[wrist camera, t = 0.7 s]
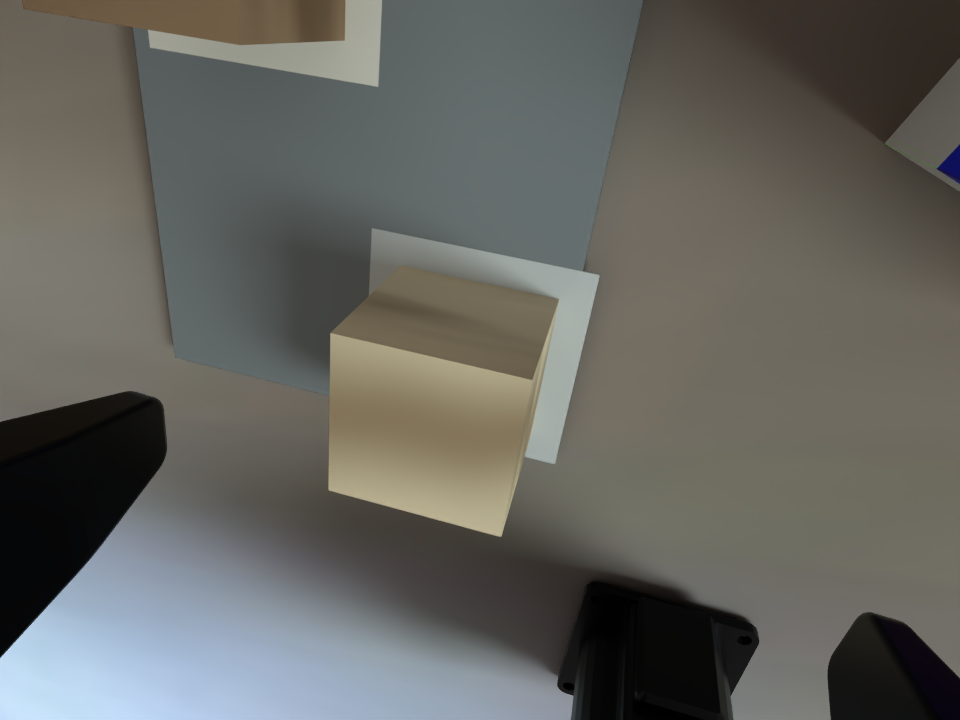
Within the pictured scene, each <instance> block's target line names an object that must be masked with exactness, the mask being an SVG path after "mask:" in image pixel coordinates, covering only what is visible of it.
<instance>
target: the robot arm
mask: <svg viewBox="0 0 960 720" xmlns="http://www.w3.org/2000/svg"><path fill="white" fill-rule="evenodd" d="M166 452H167V439H166V428H165V417H164V408H163V405H162V403H161V402H160V400H158V399H157V398H155V397H151V396H148V395H145V394H141V393H138V392H133V391H127V392H122V393H118V394H114V395H110V396H106V397H101V398H97V399H93V400H89V401H85V402H81V403H77V404H73V405H68V406H64V407H60V408H56V409H52V410H48V411H44V412H39V413H35V414H31V415H27V416H23V417H19V418H15V419H10V420H6V421H2V422H0V658H1V657H2V655H3V654H4V653H5V652H6V651H7V650H8V649H9V648H10V647H11V646H12V645H13V643H14V642H15V641H16V640H17V639H18V638H19V637H20V636H21V635H22V634H23V633H24V631H25V630H26V629H27V628H28V627H29V626H30V625H31V624H32V623H33V622H34V621H35V619H36V618H37V617H38V616H39V615H40V614H41V613H42V612H43V611H44V610H45V609H46V607H47V606H48V605H49V604H50V603H51V602H52V601H53V600H54V599H55V598H56V597H57V595H58V594H59V593H60V592H61V591H62V590H63V589H64V588H65V587H66V586H67V585H68V583H69V582H70V581H71V580H72V579H73V578H74V577H75V576H76V575H77V574H78V572H79V571H80V570H81V569H82V568H83V567H84V566H85V564H86V563H87V562H88V561H89V560H90V559H91V557H92V556H93V555H94V554H95V552H96V551H97V550H98V549H99V548H100V546H101V545H102V544H103V543H104V541H105V540H106V539H107V537H108V536H109V535H110V533H111V532H112V531H113V529H114V528H115V527H116V525H117V524H118V523H119V521H120V520H121V519H122V517H123V516H124V515H125V513H126V512H127V511H128V509H129V508H130V507H131V505H132V504H133V503H134V501H135V500H136V499H137V497H138V496H139V495H140V493H141V492H142V491H143V489H144V488H145V487H146V486H147V484H148V483H149V482H150V480H151V479H152V478H153V476H154V475H155V474H156V472H157V471H158V470H159V468H160V467H161V465H162V463H163V461H164V459H165V456H166ZM595 594H598V595H601V596H596V595H595ZM758 644H759V637H758V631H757V629H756V627H754V626H753V625H752V624H749V623H747V622H743V621H740V620H736V619H732V618H729V617H725V616H721V615H718V614H714V613H711V612H707V611H703V610H700V609H696V608H692V607H689V606H685V605H682V604H678V603H674V602H671V601H667V600H663V599H660V598H656V597H653V596H649V595H645V594H642V593H638V592H634V591H631V590H627V589H624V588H620V587H616V586H613V585H609V584H605V583H602V582H591V583H589V584H587V586H586V587H585V590H584V594H583V597H582V600H581V603H580V607H579V610H578V613H577V616H576V620H575V623H574V626H573V629H572V633H571V636H570V639H569V642H568V646H567V649H566V652H565V655H564V659H563V662H562V665H561V668H560V672H559V675H558V682H557V686H558V688H559V689H560V690H561V691H562V692H564V693H567V694H570V695H573V696H574V697H573V706H572V715H571V720H733V713H732V704H731V694H732V692H733V691H734V689H735V687H736V685H737V683H738V681H739V680H740V678H741V676H742V674H743V672H744V670H745V668H746V667H747V665H748V663H749V661H750V659H751V657H752V655H753V654H754V652H755V650H756V648H757V646H758ZM828 690H829V702H830V715H831V720H960V678H959V677H958V676H957V675H956V674H955V673H954V672H953V671H952V670H951V669H950V668H949V667H948V666H947V665H946V664H945V663H944V662H943V661H942V660H941V659H940V658H939V657H938V656H937V655H936V654H935V653H934V652H933V650H932V649H931V648H930V647H929V646H928V645H927V644H926V643H925V642H924V641H923V640H922V639H921V638H920V637H919V636H918V635H917V634H916V633H915V632H914V631H913V630H912V629H911V628H910V627H909V626H908V625H906V624H905V623H903V622H901V621H898V620H895V619H892V618H889V617H885V616H882V615H879V614H875V613H871V612H867V613H863V614H861V615H860V616H859V617H858V618H857V619H856V620H855V622H854V623H853V625H852V626H851V627H850V629H849V630H848V632H847V633H846V635H845V636H844V638H843V639H842V641H841V642H840V644H839V645H838V647H837V648H836V650H835V651H834V652H833V654H832V656H831V659H830V661H829V665H828Z"/></svg>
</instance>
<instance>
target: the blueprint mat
mask: <svg viewBox="0 0 960 720" xmlns="http://www.w3.org/2000/svg"><path fill="white" fill-rule="evenodd" d="M643 1H644V0H346V1H345V41H325V42H302V43H279V44H256V45H236V44H230V43H224V42H218V41H212V40H206V39H200V38H194V37H188V36H182V35H176V34H170V33H164V32H158V31H152V30H146V29H140V28H135V27H133V34H134V42H135V50H136V57H137V65H138V73H139V81H140V88H141V96H142V104H143V112H144V120H145V127H146V135H147V143H148V151H149V158H150V166H151V174H152V182H153V190H154V197H155V205H156V213H157V221H158V229H159V236H160V244H161V252H162V260H163V267H164V275H165V283H166V291H167V299H168V306H169V314H170V322H171V330H172V338H173V345H174V353H175V358H179V359H183V360H187V361H191V362H195V363H199V364H203V365H207V366H211V367H215V368H219V369H223V370H227V371H231V372H235V373H239V374H243V375H247V376H251V377H255V378H259V379H263V380H267V381H271V382H275V383H279V384H284V385H288V386H292V387H296V388H300V389H304V390H308V391H312V392H316V393H320V394H324V395H328V396H330V333H331V332H332V331H333V330H334V329H335V328H336V327H337V326H338V325H339V324H340V323H341V322H342V321H343V320H344V319H346V318H347V317H348V316H349V315H350V314H351V313H352V312H353V311H354V310H355V309H356V308H357V307H358V306H359V305H360V304H361V303H362V302H363V301H364V300H365V299H366V298H367V297H368V296H370V295H371V294H372V293H373V292H374V291H375V290H376V289H377V288H378V287H379V286H380V285H381V284H382V283H383V282H384V281H385V280H386V279H387V278H388V277H389V276H390V275H391V274H392V273H393V272H395V271H396V270H397V269H398V268H399V267H400V266H405V267H410V268H415V269H419V270H424V271H429V272H433V273H438V274H443V275H448V276H452V277H457V278H462V279H466V280H471V281H476V282H480V283H485V284H490V285H494V286H499V287H504V288H508V289H513V290H518V291H522V292H527V293H532V294H537V295H541V296H546V297H551V298H555V299H559V303H558V307H557V312H556V317H555V322H554V327H553V331H552V336H551V341H550V346H549V351H548V355H547V360H546V365H545V370H544V375H543V379H542V384H541V389H540V394H539V399H538V403H537V408H536V413H535V418H534V423H533V427H532V432H531V436H530V440H529V443H528V446H527V450H526V453H525V457H528V458H532V459H536V460H540V461H544V462H548V463H552V464H555V461H556V457H557V452H558V448H559V444H560V440H561V436H562V432H563V427H564V423H565V419H566V415H567V411H568V406H569V402H570V398H571V394H572V390H573V385H574V381H575V377H576V373H577V369H578V364H579V360H580V356H581V352H582V348H583V343H584V339H585V335H586V331H587V327H588V322H589V318H590V314H591V310H592V306H593V301H594V297H595V293H596V289H597V285H598V280H599V276H600V274H598V273H593V272H588V271H583V269H584V265H585V260H586V256H587V251H588V247H589V243H590V238H591V234H592V229H593V225H594V220H595V216H596V211H597V207H598V202H599V198H600V193H601V189H602V184H603V180H604V175H605V171H606V167H607V162H608V158H609V153H610V149H611V144H612V140H613V135H614V131H615V126H616V122H617V117H618V113H619V108H620V104H621V99H622V95H623V90H624V86H625V82H626V77H627V73H628V68H629V64H630V59H631V55H632V50H633V46H634V41H635V37H636V32H637V28H638V23H639V19H640V14H641V10H642V5H643Z"/></svg>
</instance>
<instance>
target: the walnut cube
mask: <svg viewBox="0 0 960 720" xmlns="http://www.w3.org/2000/svg"><path fill="white" fill-rule="evenodd" d="M345 1H346V0H22V3H23V8H24V9H27V10H33V11H39V12H45V13H51V14H57V15H63V16H69V17H75V18H81V19H87V20H93V21H99V22H105V23H111V24H117V25H123V26H129V27H135V28H140V29H146V30H152V31H158V32H164V33H170V34H176V35H182V36H188V37H194V38H200V39H206V40H212V41H218V42H224V43H230V44H236V45H256V44H279V43H302V42H325V41H345Z"/></svg>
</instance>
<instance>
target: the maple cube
mask: <svg viewBox="0 0 960 720" xmlns="http://www.w3.org/2000/svg"><path fill="white" fill-rule="evenodd" d="M558 303H559V299H555V298H551V297H546V296H541V295H537V294H532V293H527V292H522V291H518V290H513V289H508V288H504V287H499V286H494V285H490V284H485V283H480V282H476V281H471V280H466V279H462V278H457V277H452V276H448V275H443V274H438V273H433V272H429V271H424V270H419V269H415V268H410V267H405V266H400V267H399V268H398V269H397V270H396V271H395V272H393V273H392V274H391V275H390V276H389V277H388V278H387V279H386V280H385V281H384V282H383V283H382V284H381V285H380V286H379V287H378V288H377V289H376V290H375V291H374V292H373V293H372V294H371V295H370V296H368V297H367V298H366V299H365V300H364V301H363V302H362V303H361V304H360V305H359V306H358V307H357V308H356V309H355V310H354V311H353V312H352V313H351V314H350V315H349V316H348V317H347V318H346V319H344V320H343V321H342V322H341V323H340V324H339V325H338V326H337V327H336V328H335V329H334V330H333V331H332V332H331V333H330V408H329V491H333V492H337V493H340V494H344V495H348V496H351V497H355V498H359V499H362V500H366V501H370V502H373V503H377V504H381V505H384V506H388V507H392V508H395V509H399V510H403V511H407V512H410V513H414V514H418V515H421V516H425V517H429V518H432V519H436V520H440V521H443V522H447V523H451V524H454V525H458V526H462V527H465V528H469V529H473V530H476V531H480V532H484V533H488V534H491V535H495V536H499V537H501V536H502V533H503V529H504V526H505V522H506V519H507V515H508V512H509V509H510V505H511V502H512V498H513V495H514V491H515V488H516V484H517V481H518V478H519V474H520V471H521V467H522V464H523V460H524V457H525V453H526V450H527V446H528V443H529V440H530V436H531V432H532V427H533V423H534V418H535V413H536V408H537V403H538V399H539V394H540V389H541V384H542V379H543V375H544V370H545V365H546V360H547V355H548V351H549V346H550V341H551V336H552V331H553V327H554V322H555V317H556V312H557V307H558Z"/></svg>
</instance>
